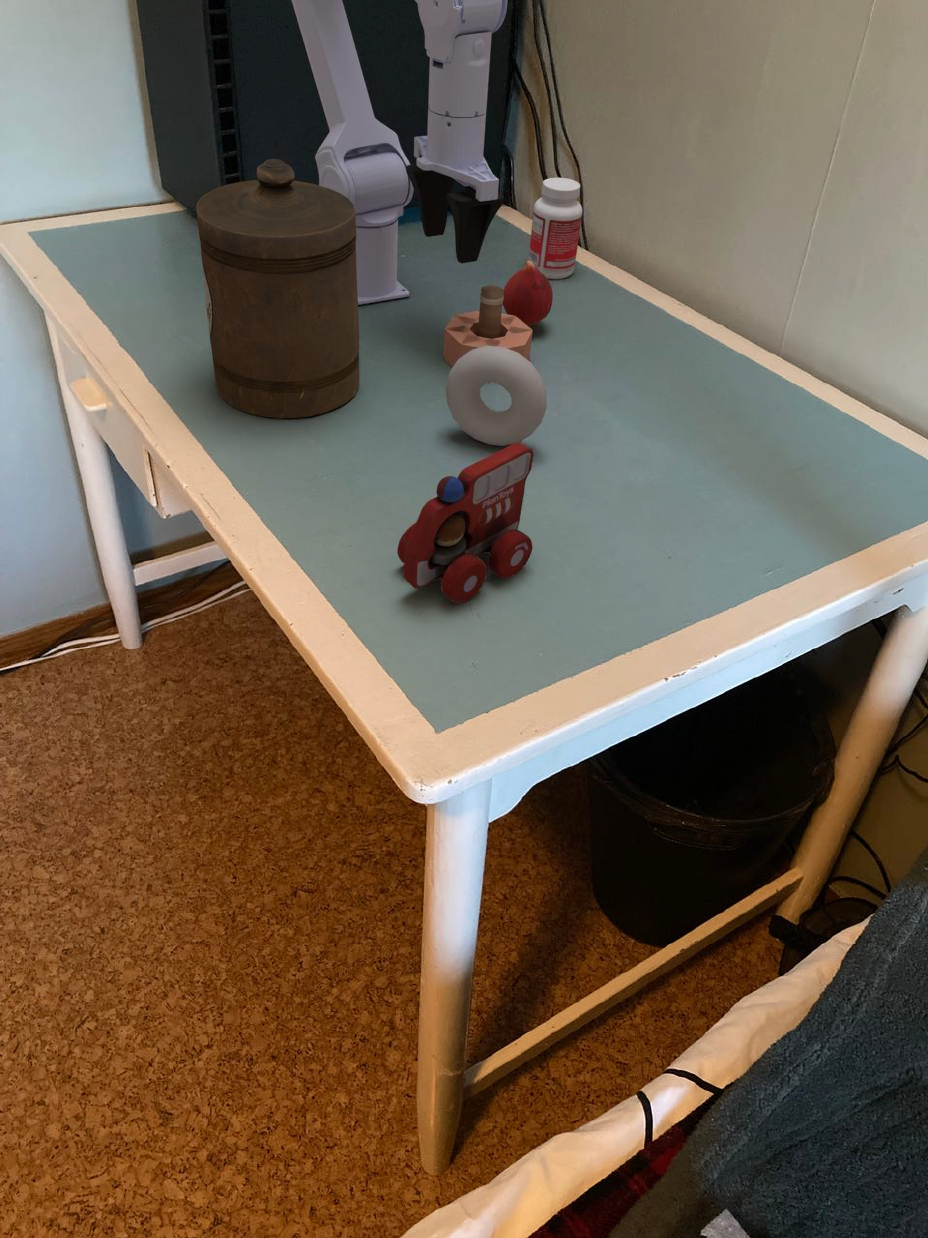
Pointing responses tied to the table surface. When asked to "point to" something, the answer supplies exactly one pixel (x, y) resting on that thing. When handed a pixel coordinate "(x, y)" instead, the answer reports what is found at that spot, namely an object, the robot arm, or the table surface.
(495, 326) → the case
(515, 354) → the donut
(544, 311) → the onion
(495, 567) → the toy fire truck
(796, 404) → the table surface
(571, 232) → the pill bottle
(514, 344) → the orange octagonal ring
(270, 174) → the wooden container
